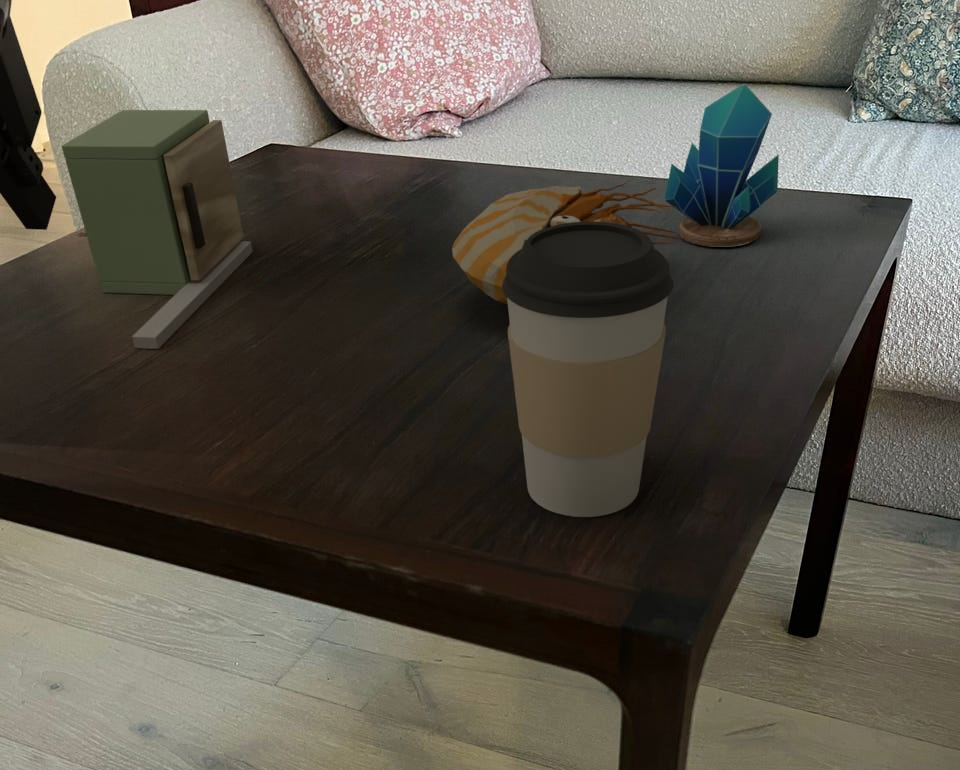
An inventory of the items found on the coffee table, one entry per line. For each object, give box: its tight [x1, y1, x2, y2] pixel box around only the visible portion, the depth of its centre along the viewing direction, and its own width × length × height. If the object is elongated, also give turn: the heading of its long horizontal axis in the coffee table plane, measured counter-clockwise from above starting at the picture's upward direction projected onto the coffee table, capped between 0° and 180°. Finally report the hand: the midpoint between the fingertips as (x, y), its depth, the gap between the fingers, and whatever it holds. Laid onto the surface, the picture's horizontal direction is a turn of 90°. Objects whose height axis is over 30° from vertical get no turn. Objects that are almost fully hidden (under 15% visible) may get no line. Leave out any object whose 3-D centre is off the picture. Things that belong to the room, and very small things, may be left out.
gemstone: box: [663, 83, 780, 247], centre depth 91 cm, size 7×9×12 cm
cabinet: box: [61, 109, 254, 350], centre depth 87 cm, size 10×22×12 cm, turn 169°
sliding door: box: [163, 119, 244, 280], centre depth 90 cm, size 1×10×10 cm, turn 169°
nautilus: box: [451, 179, 682, 306], centre depth 84 cm, size 8×22×15 cm
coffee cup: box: [502, 222, 675, 518], centre depth 59 cm, size 9×9×15 cm
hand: (41, 212), depth 71 cm, fingers closed
